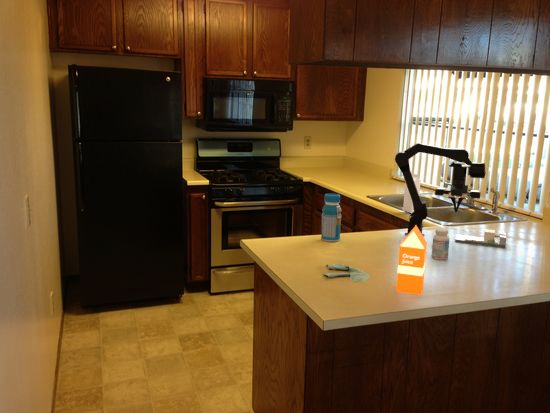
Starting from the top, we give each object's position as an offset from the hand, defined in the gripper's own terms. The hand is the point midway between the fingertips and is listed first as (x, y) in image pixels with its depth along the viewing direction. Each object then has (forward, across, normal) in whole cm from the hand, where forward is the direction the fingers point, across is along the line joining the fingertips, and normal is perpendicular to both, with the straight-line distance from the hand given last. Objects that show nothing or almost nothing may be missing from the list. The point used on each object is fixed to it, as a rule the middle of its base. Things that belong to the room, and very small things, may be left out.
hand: (455, 211), depth 220 cm
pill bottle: (+12, -2, -36) cm, 38 cm away
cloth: (+13, -32, -71) cm, 79 cm away
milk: (+12, -27, +49) cm, 57 cm away
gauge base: (+12, +11, -2) cm, 17 cm away
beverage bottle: (+12, -48, -30) cm, 58 cm away
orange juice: (+12, -7, -76) cm, 77 cm away
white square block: (+10, +17, -3) cm, 20 cm away
